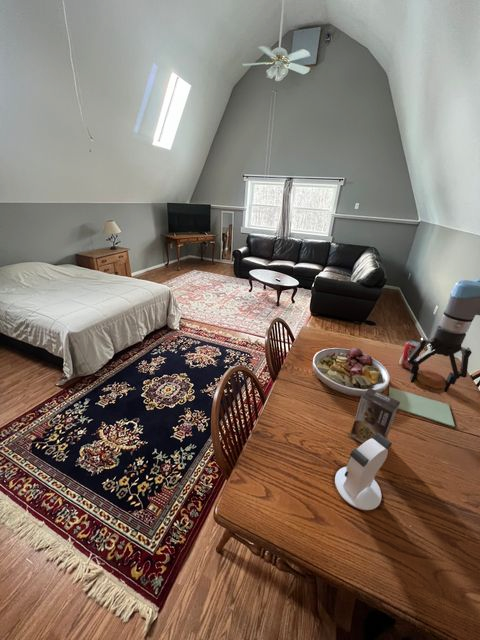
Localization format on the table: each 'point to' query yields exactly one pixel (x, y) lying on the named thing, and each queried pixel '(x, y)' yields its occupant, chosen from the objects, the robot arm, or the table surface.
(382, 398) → the coffee box
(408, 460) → the table surface
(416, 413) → the mat
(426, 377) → the burger
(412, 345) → the beverage can
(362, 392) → the bowl
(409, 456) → the table surface
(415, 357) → the robot arm
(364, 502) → the white oval-base stand
